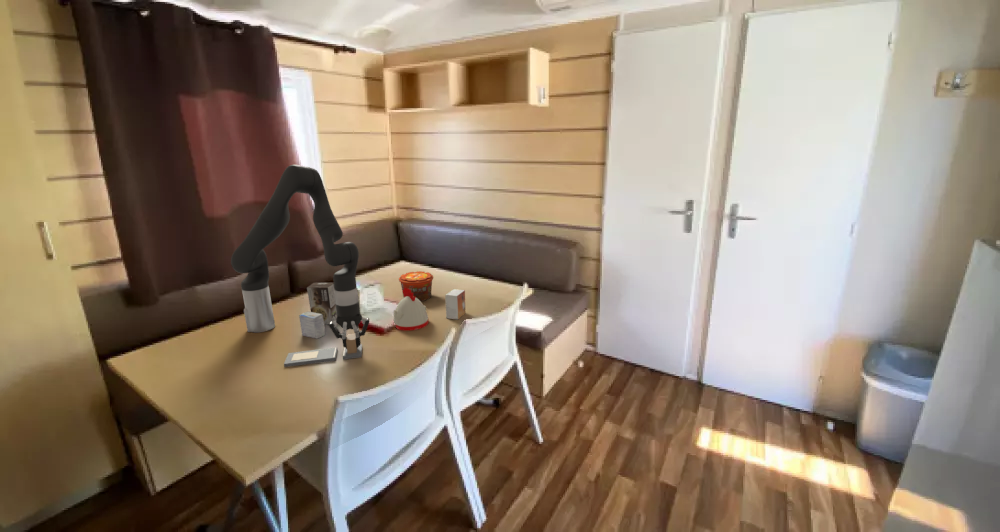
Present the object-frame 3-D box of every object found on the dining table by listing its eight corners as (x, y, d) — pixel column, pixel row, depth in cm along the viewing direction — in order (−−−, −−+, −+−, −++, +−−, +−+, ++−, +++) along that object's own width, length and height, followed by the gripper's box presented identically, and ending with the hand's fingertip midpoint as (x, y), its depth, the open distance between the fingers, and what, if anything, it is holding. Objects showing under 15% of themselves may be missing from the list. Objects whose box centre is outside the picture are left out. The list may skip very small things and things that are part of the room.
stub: (343, 359, 150) (341, 342, 148) (344, 349, 157) (342, 333, 155) (361, 357, 151) (359, 340, 149) (362, 347, 159) (360, 331, 157)
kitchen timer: (415, 314, 188) (413, 281, 184) (435, 323, 179) (433, 288, 175) (387, 323, 179) (384, 289, 175) (405, 333, 170) (403, 297, 165)
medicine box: (325, 334, 169) (323, 313, 167) (316, 339, 165) (313, 318, 163) (311, 331, 173) (308, 310, 170) (301, 335, 169) (298, 314, 166)
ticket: (284, 367, 145) (283, 363, 145) (288, 356, 153) (288, 352, 152) (335, 360, 149) (335, 357, 149) (337, 350, 157) (337, 346, 156)
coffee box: (340, 318, 184) (335, 282, 180) (332, 324, 178) (328, 287, 174) (319, 318, 185) (314, 281, 181) (311, 324, 179) (306, 286, 175)
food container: (431, 303, 201) (430, 280, 198) (396, 303, 201) (395, 281, 198) (436, 291, 216) (435, 270, 214) (404, 291, 217) (402, 270, 214)
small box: (458, 320, 182) (457, 296, 179) (445, 318, 184) (444, 294, 181) (466, 313, 189) (465, 290, 186) (454, 311, 191) (453, 288, 188)
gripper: (323, 306, 144) (329, 354, 148) (368, 302, 147) (373, 349, 152) (326, 299, 151) (332, 345, 155) (368, 295, 154) (373, 340, 159)
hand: (352, 346), depth 153 cm, fingers closed on stub, 3 cm apart
